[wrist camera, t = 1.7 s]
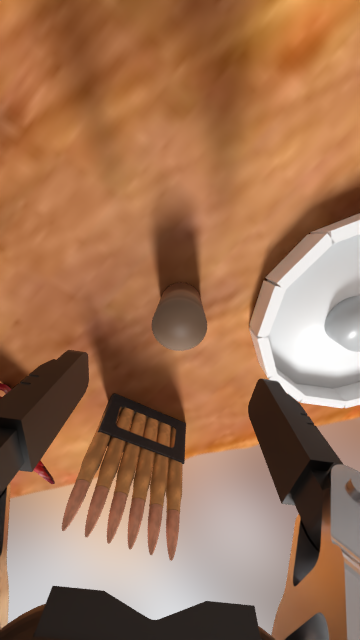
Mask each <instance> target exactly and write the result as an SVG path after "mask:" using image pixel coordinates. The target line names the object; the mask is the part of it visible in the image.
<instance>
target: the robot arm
mask: <svg viewBox="0 0 360 640" xmlns="http://www.w3.org/2000/svg"><path fill="white" fill-rule="evenodd" d="M88 382H89V368H88V354H87V353H86V352H80V351H74V350H68V351H66V352H65V353H64V354H63V355H62V356H61V357H59V358H58V359H57V360H55V359H53V360H51V361H48V362H46V363H44V364H42V365H40V366H39V367H38V368H36V369H35V370H34V371H33V372H32V373H30V375H29V376H27V377H26V378H25V379H23V380H22V381H21V383H20V384H17V385H16V386H15V387H14V388H13V389H11V390H10V391H9V392H8V393H7V394H6V395H4V396H3V397H2V398H1V399H0V640H360V472H358V471H357V470H355V469H353V468H351V467H349V466H346V465H343V463H342V462H341V461H340V459H339V458H338V456H337V455H336V453H335V452H334V451H333V449H332V448H331V447H330V445H329V444H328V442H327V441H326V440H325V438H324V437H323V435H322V434H321V433H320V431H319V430H318V428H317V427H316V426H314V423H313V422H312V420H311V419H310V417H309V416H307V413H306V412H305V410H304V409H303V408H302V406H301V405H300V404H299V403H298V402H297V401H296V400H295V399H294V398H293V397H292V396H290V395H289V394H287V393H286V392H285V390H284V389H283V387H282V386H281V385H280V383H279V382H278V381H274V380H267V379H259V380H258V382H257V384H256V387H255V389H254V392H253V394H252V397H251V399H250V402H249V406H248V413H249V418H250V420H251V423H252V426H253V428H254V431H255V434H256V436H257V439H258V442H259V444H260V447H261V450H262V452H263V455H264V458H265V460H266V463H267V465H268V468H269V471H270V474H271V476H272V479H273V481H274V484H275V487H276V490H277V492H278V495H279V498H280V500H281V503H282V504H288V505H295V506H296V508H297V510H298V513H299V514H298V516H297V517H296V520H295V527H294V533H293V540H292V547H291V554H290V560H289V567H288V574H287V581H286V586H285V590H284V594H283V597H282V599H281V602H280V604H279V607H278V609H277V613H276V616H275V620H274V624H273V629H272V635H270V634H268V633H267V632H266V631H265V630H263V629H262V628H261V627H259V626H258V623H257V618H256V612H255V607H254V606H251V605H241V604H230V603H221V602H210V601H205V602H203V603H200V604H198V605H195V606H192V607H190V608H188V609H185V610H182V611H180V612H177V613H174V614H172V615H169V616H167V617H164V618H162V619H159V620H151V619H149V618H147V617H145V616H143V615H142V614H140V613H139V612H137V611H135V610H134V609H132V608H131V607H129V606H127V605H126V604H124V603H122V602H121V601H119V600H118V599H116V598H115V597H113V596H111V595H110V594H108V593H106V592H105V591H100V590H99V591H98V590H90V589H79V588H69V587H59V586H53V587H52V589H51V592H50V595H49V597H48V600H47V602H46V604H44V605H41V606H38V607H36V608H34V609H32V610H30V611H28V612H26V613H24V614H22V615H21V616H19V617H18V618H16V619H14V620H13V621H11V622H10V623H8V604H9V585H8V574H7V540H8V522H9V505H10V489H11V486H10V482H11V480H12V479H13V478H14V476H15V475H16V473H17V472H18V471H19V470H20V471H29V472H32V471H33V470H34V468H35V467H36V465H37V464H38V463H39V461H40V460H41V458H42V457H43V455H44V454H45V452H46V451H47V449H48V448H49V446H50V445H51V443H52V442H53V440H54V439H55V437H56V436H57V434H58V433H59V431H60V430H61V428H62V427H63V425H64V424H65V422H66V421H67V419H68V418H69V416H70V415H71V413H72V412H73V410H74V409H75V407H76V406H77V404H78V403H79V401H80V400H81V398H82V397H83V395H84V394H85V392H86V389H87V387H88Z"/></svg>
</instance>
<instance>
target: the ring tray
mask: <svg viewBox="0 0 360 640" xmlns="http://www.w3.org/2000/svg"><path fill="white" fill-rule="evenodd" d="M310 233H311V234H307V235H306V236H305V237H304V238H303V239H302V240H301V241H300V242H299V243H298V244H297V245H296V246H295V247H294V249H293V250H292V251H291V252H290V253H289V254H288V255H287V256H286V257H285V258H284V259H283V260H282V261H281V262H280V263H279V264H278V265H277V266H276V267H275V268H274V269H273V270H272V271H271V272H270V273H269V274H268V275H267V276H266V277H265V278H266V279H267V281H265V280H263V284H262V287H261V290H260V293H259V296H258V299H257V302H256V305H255V308H254V312H253V315H252V318H251V321H250V324H249V326H250V328H249V330H250V333H251V337H252V340H253V344H254V347H255V351H256V354H257V358H258V362H259V364H260V366H261V367H262V369H263V371H264V372H265V374H266V376H267V377H268V379H269V380H274V381H278V382H279V383H280V385H281V386H282V387H283V389H284V390H285V392H286V393H288V394H289V395H290V396H292V397H293V398H294V399H296V400H297V401H298V402H299V401H300V402H301V403H308V404H315V405H322V406H330V407H337V408H343V407H345V408H348V407H352V406H356V405H360V213H359V214H356V215H354V216H351V217H348V218H346V219H343V220H341V221H338V222H336V223H333V224H330V225H328V226H325V227H323V228H320V229H317V230H315V231H312V232H310Z"/></svg>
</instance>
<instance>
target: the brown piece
mask: <svg viewBox="0 0 360 640" xmlns="http://www.w3.org/2000/svg"><path fill="white" fill-rule="evenodd" d="M152 331H153V334H154V336H155V338H156V339H157V341H158V342H159V343H160V344H161V345H163V346H164V347H166V348H168V349H171V350H176V351H184V350H188V349H191V348H193V347H195V346H197V345H198V344H199V343H200V342H201V341H202V340H203V338H204V337H205V334H206V331H207V320H206V317H205V313H204V310H203V306H202V302H201V299H200V295H199V293H198V291H197V290H196V289H195V288H194V287H193V286H192V285H190V284H187V283H182V282H180V283H174V284H172V285H170V286H169V287H167V288H166V290H165V291H164V292H163V294H162V297H161V299H160V302H159V304H158V307H157V309H156V312H155V314H154V317H153V320H152Z"/></svg>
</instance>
